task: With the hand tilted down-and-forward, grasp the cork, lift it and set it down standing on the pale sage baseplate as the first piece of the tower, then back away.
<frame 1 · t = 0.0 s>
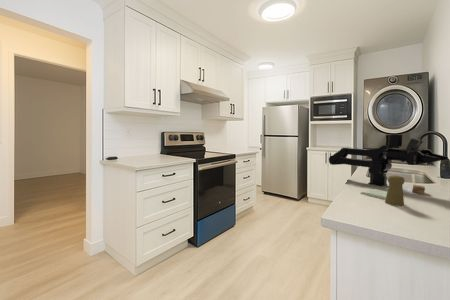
hand: (443, 158, 97), 17 cm above the worktop, tool horizontal, fingers open, 9 cm apart
baseplate: (379, 195, 100), on the worktop
cork: (394, 203, 88), on the worktop
instruction card: (401, 190, 108), on the worktop
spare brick: (417, 192, 104), on the worktop, touching instruction card
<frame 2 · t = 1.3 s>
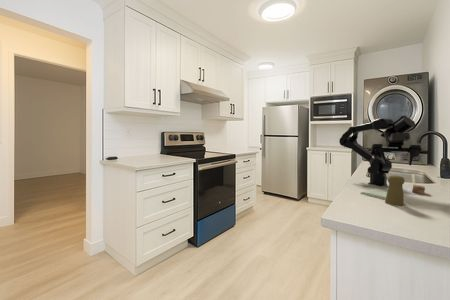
hand: (397, 164, 102), 13 cm above the worktop, tool tilted 45°, fingers open, 9 cm apart
nothing on the worktop moved.
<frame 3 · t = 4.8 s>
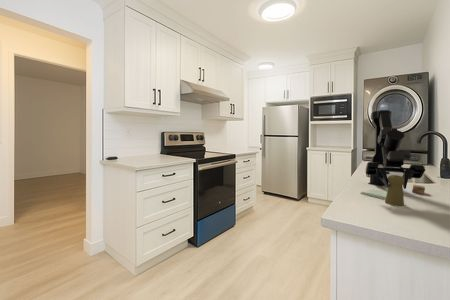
hand: (396, 187, 87), 7 cm above the worktop, tool tilted 45°, fingers closed on cork, 5 cm apart
cork: (394, 203, 88), on the worktop, touching gripper
everything else where it was.
when the fingers open (8 cm above the worktop, at t = 8.6 s): cork stays where it is, resting on baseplate.
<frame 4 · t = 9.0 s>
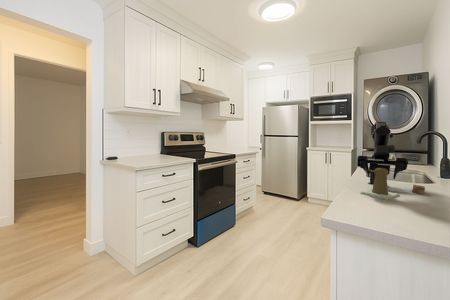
hand: (381, 177, 98), 8 cm above the worktop, tool tilted 45°, fingers open, 9 cm apart
cork: (379, 193, 100), point 1 cm above the worktop, touching baseplate
everything else where it was.
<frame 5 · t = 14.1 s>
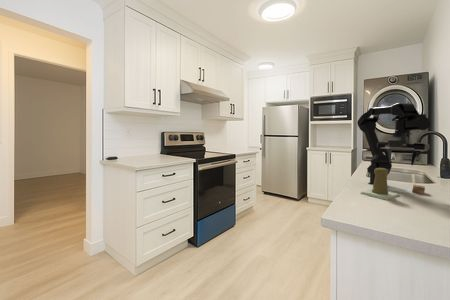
hand: (400, 163, 106), 13 cm above the worktop, tool pointing down, fingers open, 9 cm apart
nothing on the worktop moved.
at the end: cork inside the target area on the baseplate (0.2 cm from its centre), point 0.8 cm above the baseplate's base; cork tilted 0°; the gripper is holding nothing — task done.
